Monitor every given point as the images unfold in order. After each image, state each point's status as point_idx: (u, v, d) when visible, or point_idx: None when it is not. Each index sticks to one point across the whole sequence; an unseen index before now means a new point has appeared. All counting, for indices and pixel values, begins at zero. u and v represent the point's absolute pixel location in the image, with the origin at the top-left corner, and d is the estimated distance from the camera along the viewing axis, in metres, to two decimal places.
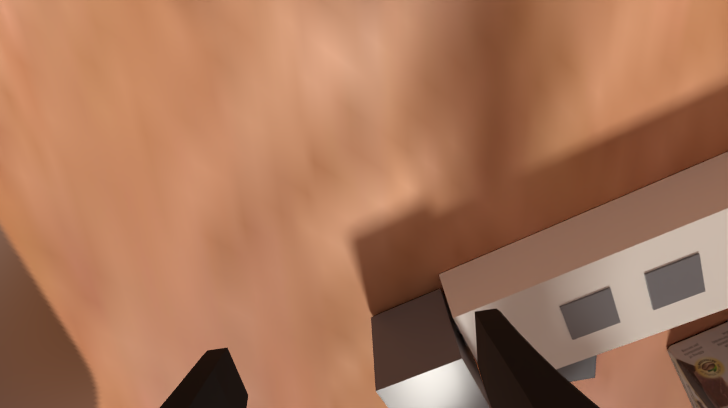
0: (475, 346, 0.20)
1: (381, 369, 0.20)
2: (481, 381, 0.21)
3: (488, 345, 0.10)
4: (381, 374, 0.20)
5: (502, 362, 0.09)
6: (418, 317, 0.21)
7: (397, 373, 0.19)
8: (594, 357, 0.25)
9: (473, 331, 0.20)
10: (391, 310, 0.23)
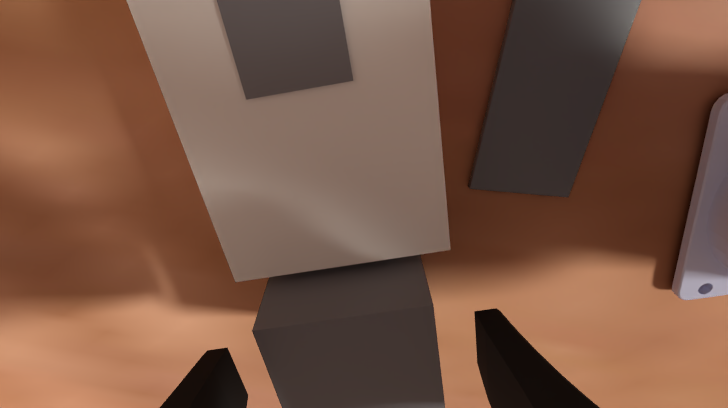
0: (314, 260, 0.11)
1: None
2: (412, 264, 0.11)
3: (488, 345, 0.10)
4: None
5: (502, 362, 0.09)
6: None
7: None
8: None
9: (275, 258, 0.11)
10: None
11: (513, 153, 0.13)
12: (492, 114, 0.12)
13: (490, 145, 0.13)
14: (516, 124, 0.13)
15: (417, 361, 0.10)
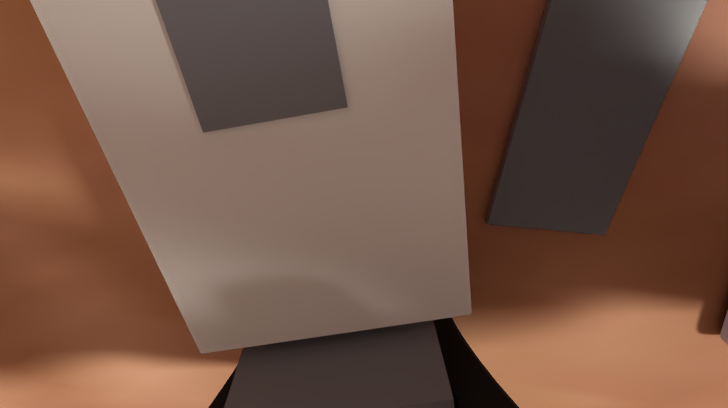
0: (299, 328, 0.09)
1: None
2: (423, 331, 0.09)
3: None
4: None
5: None
6: None
7: None
8: None
9: (250, 326, 0.08)
10: None
11: (541, 183, 0.11)
12: (517, 137, 0.10)
13: (514, 174, 0.11)
14: (546, 149, 0.10)
15: None
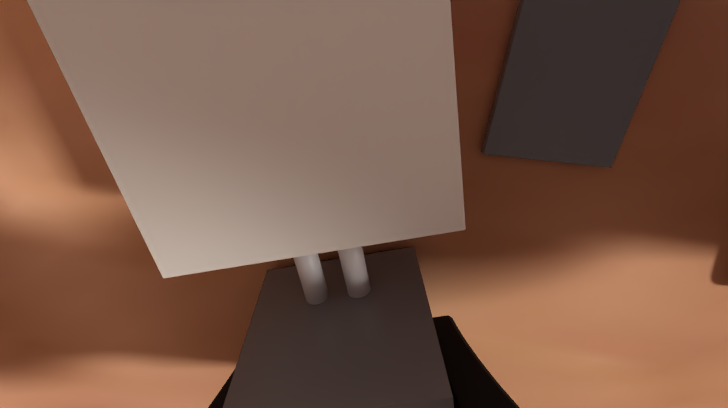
0: (272, 247, 0.08)
1: None
2: (422, 329, 0.09)
3: None
4: None
5: None
6: None
7: None
8: None
9: (216, 243, 0.08)
10: None
11: (542, 105, 0.10)
12: (516, 50, 0.09)
13: (512, 94, 0.10)
14: (548, 65, 0.09)
15: None
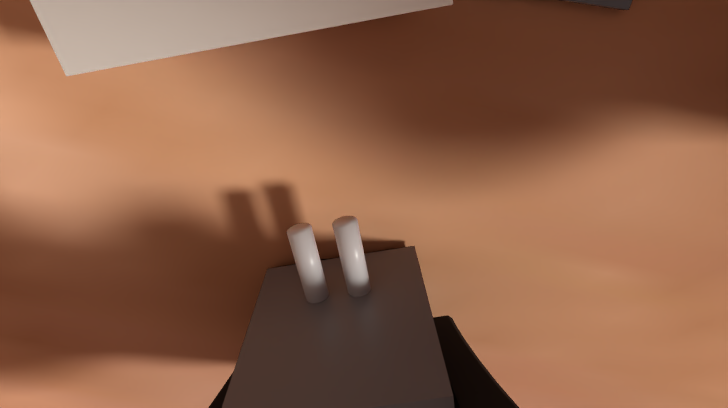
0: (203, 27, 0.06)
1: None
2: (422, 328, 0.09)
3: None
4: None
5: None
6: None
7: None
8: None
9: (130, 20, 0.06)
10: None
11: None
12: None
13: None
14: None
15: None
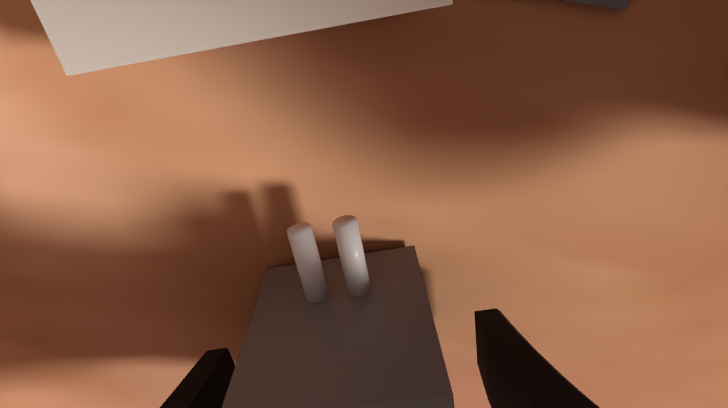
0: (203, 27, 0.06)
1: None
2: (422, 328, 0.09)
3: (488, 345, 0.10)
4: None
5: (502, 362, 0.09)
6: None
7: None
8: None
9: (130, 20, 0.06)
10: None
11: None
12: None
13: None
14: None
15: None
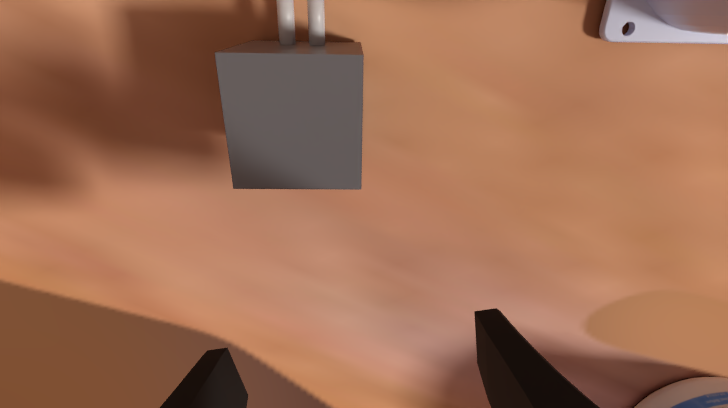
0: None
1: None
2: (354, 49, 0.13)
3: (488, 345, 0.10)
4: None
5: (502, 362, 0.09)
6: None
7: None
8: None
9: None
10: None
11: None
12: None
13: None
14: None
15: (344, 114, 0.13)
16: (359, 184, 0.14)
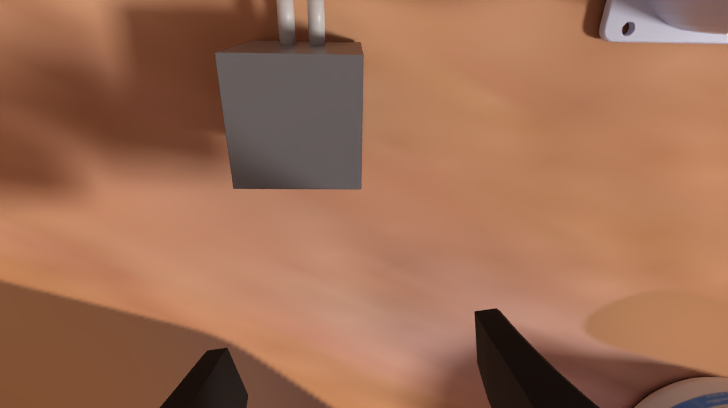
0: None
1: None
2: (354, 49, 0.13)
3: (488, 345, 0.10)
4: None
5: (502, 362, 0.09)
6: None
7: None
8: None
9: None
10: None
11: None
12: None
13: None
14: None
15: (344, 114, 0.13)
16: (359, 184, 0.14)
